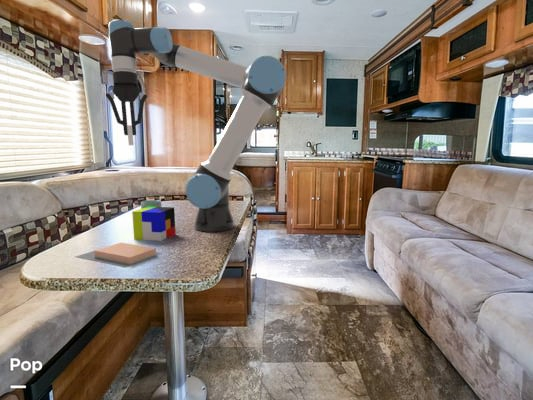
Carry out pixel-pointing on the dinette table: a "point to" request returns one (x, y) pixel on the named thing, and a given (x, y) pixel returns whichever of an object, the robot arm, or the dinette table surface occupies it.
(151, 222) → the puzzle toy
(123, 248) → the tile
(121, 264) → the mat
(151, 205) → the cup
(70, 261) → the dinette table surface
